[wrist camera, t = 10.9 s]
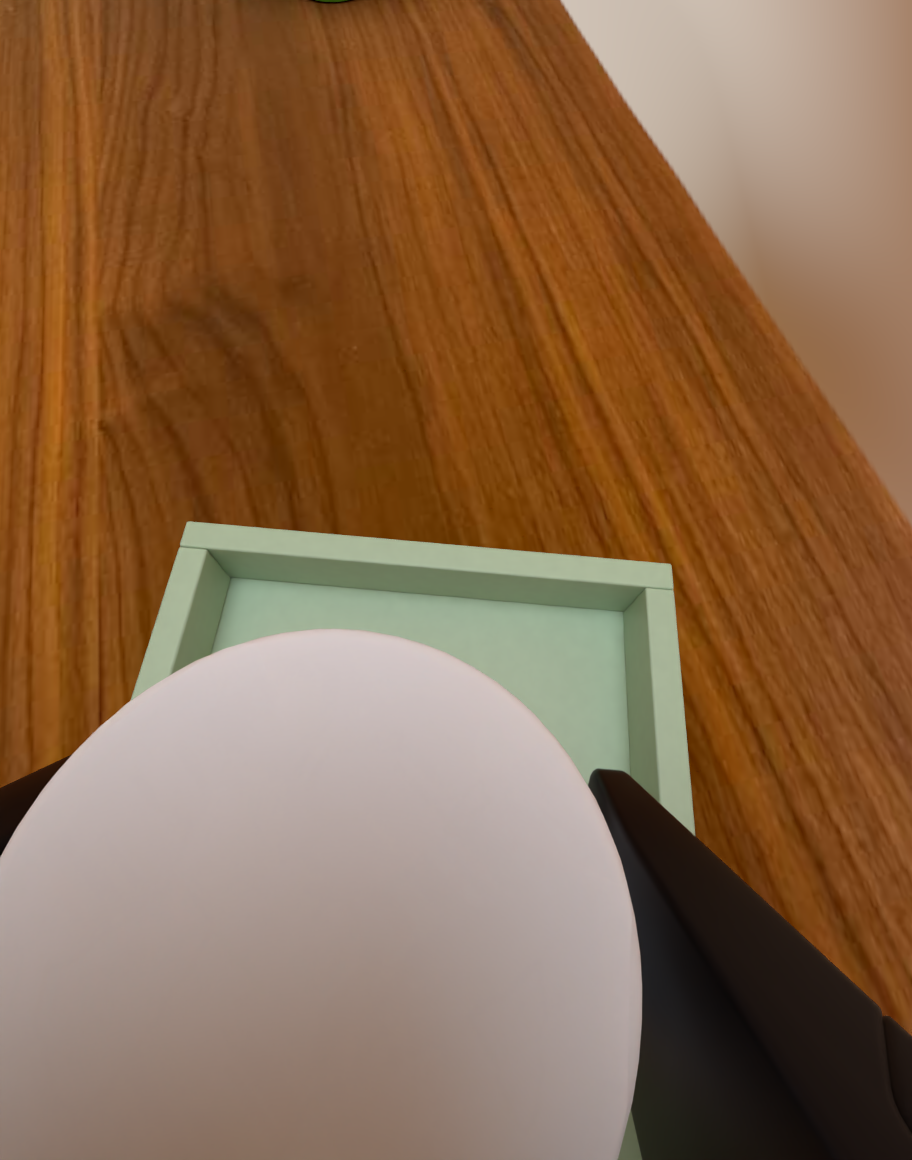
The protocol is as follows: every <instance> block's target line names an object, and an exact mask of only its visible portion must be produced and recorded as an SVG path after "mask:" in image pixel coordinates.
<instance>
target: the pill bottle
mask: <svg viewBox="0 0 912 1160" xmlns="http://www.w3.org/2000/svg"><path fill="white" fill-rule="evenodd" d="M641 1027H642V974H641V957H640V948H639V941H638V935H637V928H636V921H635V915H634V911H633V906H632V902H631V898H630V894H629V890H628V885H627V881H626V877H625V873H624V870H623V866H622V862H621V859H620V856H619V854H618V851H617V848H616V846H615V843H614V841H613V838H612V836H611V833H610V831H609V828H608V826H607V823H606V821H605V819H604V816H603V814H602V812H601V810H600V807H599V805H598V803H597V801H596V799H595V797H594V795H593V794H592V792H591V790H590V789H589V787H588V785H587V784H586V782H585V781H584V779H583V777H582V776H581V774H580V772H579V771H578V769H577V767H576V766H575V764H574V762H573V761H572V759H571V758H570V756H569V755H568V754H567V752H566V751H565V750H564V748H563V747H562V746H561V744H560V743H559V742H558V741H557V739H556V738H555V737H554V735H553V734H552V733H551V732H550V731H549V730H548V729H547V728H546V727H545V726H544V725H543V724H542V722H541V721H540V720H539V719H538V718H537V717H536V715H535V714H534V713H533V712H532V711H530V710H529V709H528V708H527V707H526V706H525V705H524V704H523V703H522V702H521V701H520V700H519V699H517V698H516V697H515V696H514V695H512V694H511V693H510V692H509V691H507V690H506V689H505V688H504V687H502V686H501V685H500V684H499V683H497V682H496V681H494V680H493V679H491V678H490V677H488V676H486V675H485V674H483V673H482V672H480V671H479V670H477V669H475V668H474V667H472V666H470V665H469V664H467V663H465V662H463V661H461V660H459V659H457V658H455V657H453V656H451V655H449V654H448V653H446V652H443V651H440V650H438V649H435V648H433V647H430V646H427V645H425V644H422V643H418V642H415V641H411V640H408V639H404V638H401V637H397V636H392V635H386V634H381V633H376V632H370V631H365V630H349V629H313V630H303V631H294V632H285V633H280V634H275V635H270V636H266V637H261V638H258V639H254V640H251V641H248V642H245V643H242V644H238V645H235V646H232V647H228V648H225V649H222V650H220V651H218V652H215V653H213V654H211V655H208V656H206V657H203V658H201V659H199V660H196V661H194V662H192V663H191V664H189V665H187V666H185V667H183V668H182V669H180V670H178V671H176V672H175V673H173V674H171V675H170V676H168V677H166V678H165V679H163V680H161V681H160V682H158V683H156V684H155V685H153V686H152V687H150V688H148V689H147V690H145V691H144V692H143V693H141V694H140V695H138V696H137V697H136V698H134V699H133V700H131V701H130V702H128V703H127V704H126V705H124V706H123V707H122V708H121V709H120V710H119V711H118V712H117V713H116V714H115V715H113V716H112V717H111V718H110V719H109V720H107V721H106V722H105V723H104V724H102V725H101V726H100V727H99V728H98V729H97V730H96V731H95V732H94V733H93V734H92V735H91V736H90V737H89V738H88V739H87V740H86V741H85V742H84V743H83V744H82V745H81V746H80V747H79V748H78V749H77V750H76V751H75V752H74V753H73V754H72V756H71V757H70V758H69V759H68V760H67V761H66V762H65V763H64V764H63V766H62V767H61V768H60V769H59V770H58V771H57V772H56V774H55V775H54V776H53V777H52V779H51V780H50V781H49V782H48V783H47V785H46V786H45V787H44V788H43V790H42V791H41V793H40V794H39V796H38V797H37V798H36V800H35V801H34V803H33V804H32V806H31V807H30V809H29V810H28V812H27V813H26V815H25V816H24V818H23V819H22V821H21V822H20V824H19V825H18V826H17V828H16V830H15V832H14V833H13V835H12V837H11V839H10V840H9V842H8V844H7V846H6V848H5V849H4V851H3V853H2V855H1V857H0V1160H617V1159H618V1157H619V1153H620V1149H621V1145H622V1141H623V1137H624V1133H625V1129H626V1125H627V1121H628V1117H629V1113H630V1109H631V1105H632V1101H633V1095H634V1089H635V1083H636V1076H637V1070H638V1064H639V1053H640V1040H641Z"/></svg>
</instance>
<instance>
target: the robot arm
mask: <svg viewBox="0 0 912 1160" xmlns="http://www.w3.org/2000/svg"><path fill="white" fill-rule="evenodd" d="M71 756H72V755H70V756H68V757H66V758H64V759H61V760H59V761H57V762H55V763H53V764H51V765H49V766H46V767H44V768H42V769H40V770H38V771H36V772H34V773H31V774H29V775H27V776H25V777H23V778H21V779H19V780H16V781H14V782H12V783H10V784H8V785H6V786H4V787H1V788H0V857H1V855H2V853H3V851H4V849H5V848H6V846H7V844H8V842H9V840H10V839H11V837H12V835H13V833H14V832H15V830H16V828H17V826H18V825H19V824H20V822H21V821H22V819H23V818H24V816H25V815H26V813H27V812H28V810H29V809H30V807H31V806H32V804H33V803H34V801H35V800H36V798H37V797H38V796H39V794H40V793H41V791H42V790H43V788H44V787H45V786H46V785H47V783H48V782H49V781H50V780H51V779H52V777H53V776H54V775H55V774H56V772H57V771H58V770H59V769H60V768H61V767H62V766H63V764H64V763H65V762H66V761H67V760H68V759H69V758H70V757H71ZM588 787H589V789H590V790H591V792H592V794H593V795H594V797H595V799H596V801H597V803H598V805H599V807H600V810H601V812H602V814H603V816H604V819H605V821H606V823H607V826H608V828H609V831H610V833H611V836H612V838H613V841H614V843H615V846H616V848H617V851H618V854H619V856H620V859H621V862H622V866H623V870H624V873H625V877H626V881H627V885H628V890H629V894H630V898H631V902H632V906H633V911H634V915H635V921H636V928H637V935H638V941H639V948H640V957H641V974H642V1027H641V1040H640V1053H639V1064H638V1070H637V1076H636V1083H635V1089H634V1095H633V1101H632V1105H631V1113H632V1117H633V1122H634V1126H635V1130H636V1135H637V1139H638V1144H639V1148H640V1152H641V1157H642V1160H912V1036H911V1035H910V1034H909V1033H907V1032H906V1031H905V1030H904V1029H903V1028H902V1027H901V1026H900V1025H899V1024H898V1023H897V1022H896V1021H894V1020H893V1019H892V1018H891V1017H890V1016H883V1017H882V1011H881V1009H880V1007H879V1006H878V1005H877V1004H876V1003H875V1002H874V1001H873V1000H871V999H870V998H869V997H868V996H867V995H866V994H865V993H864V992H863V991H862V990H861V989H860V988H858V987H857V986H856V985H855V984H854V983H853V982H852V981H851V980H850V979H849V978H848V977H847V976H846V975H844V974H843V973H842V972H841V971H840V970H839V969H838V968H837V967H836V966H835V965H834V964H833V963H832V962H830V961H829V960H828V959H827V958H826V957H825V956H824V955H823V954H822V953H821V952H820V951H819V950H817V949H816V948H815V947H814V946H813V945H812V944H811V943H810V942H809V941H808V940H807V939H806V938H805V937H803V936H802V935H801V934H800V933H799V932H798V931H797V930H796V929H795V928H794V927H793V926H792V925H791V924H789V923H788V922H787V921H786V920H785V919H784V918H783V917H782V916H781V915H780V914H779V913H778V912H777V911H775V910H774V909H773V908H772V907H771V906H770V905H769V904H768V903H767V902H766V901H765V900H764V899H762V898H761V897H760V896H759V895H758V894H757V893H756V892H755V891H754V890H753V889H752V888H751V887H750V886H748V885H747V884H746V883H745V882H744V881H743V880H742V879H741V878H740V877H739V876H738V875H737V874H736V873H734V872H733V871H732V870H731V869H730V868H729V867H728V866H727V865H726V864H725V863H724V862H723V861H721V860H720V859H719V858H718V857H717V856H716V855H715V854H714V853H713V852H712V851H711V850H710V849H709V848H707V847H706V846H705V845H704V844H703V843H702V842H701V841H700V840H699V839H698V838H697V837H696V836H695V835H693V834H692V833H691V832H690V831H689V830H688V829H687V828H686V827H685V826H684V825H683V824H682V823H680V822H679V821H678V820H677V819H676V818H675V817H674V816H673V815H672V814H671V813H670V812H669V811H668V810H666V809H665V808H664V807H663V806H662V805H661V804H660V803H659V802H658V801H657V800H656V799H655V798H654V797H652V796H651V795H650V794H649V793H648V792H647V791H646V790H645V789H644V788H643V787H642V786H641V785H640V784H638V783H637V782H636V781H635V780H634V779H633V778H632V777H631V776H630V775H629V774H627V773H626V772H624V771H622V770H613V769H601V768H596V769H595V770H593V771H592V773H591V775H590V778H589V783H588Z"/></svg>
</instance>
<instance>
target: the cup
mask: <svg viewBox="0 0 912 1160" xmlns="http://www.w3.org/2000/svg"><path fill="white" fill-rule="evenodd" d="M316 1H323V2H341V1H348V0H316Z"/></svg>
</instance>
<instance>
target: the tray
mask: <svg viewBox="0 0 912 1160" xmlns="http://www.w3.org/2000/svg"><path fill="white" fill-rule="evenodd" d="M180 546H181V547H180V548H179V550H178V553H177V556H176V559H175V562H174V565H173V568H172V572H171V575H170V578H169V581H168V584H167V587H166V591H165V594H164V597H163V600H162V603H161V606H160V610H159V613H158V616H157V619H156V622H155V625H154V629H153V632H152V635H151V638H150V641H149V644H148V648H147V651H146V654H145V657H144V660H143V663H142V667H141V670H140V673H139V676H138V679H137V682H136V685H135V689H134V692H133V695H132V698H131V700H133V699H134V698H136V697H137V696H138V695H140V694H141V693H143V692H144V691H145V690H147V689H148V688H150V687H152V686H153V685H155V684H156V683H158V682H160V681H161V680H163V679H165V678H166V677H168V676H170V675H171V674H173V673H175V672H176V671H178V670H180V669H182V668H183V667H185V666H187V665H189V664H191V663H192V662H194V661H196V660H199V659H201V658H203V657H206V656H208V655H211V654H213V653H215V652H218V651H220V650H222V649H225V648H228V647H232V646H235V645H238V644H242V643H245V642H248V641H251V640H254V639H258V638H261V637H266V636H270V635H275V634H280V633H285V632H294V631H303V630H313V629H349V630H365V631H370V632H376V633H381V634H386V635H392V636H397V637H401V638H404V639H408V640H411V641H415V642H418V643H422V644H425V645H427V646H430V647H433V648H435V649H438V650H440V651H443V652H446V653H448V654H449V655H451V656H453V657H455V658H457V659H459V660H461V661H463V662H465V663H467V664H469V665H470V666H472V667H474V668H475V669H477V670H479V671H480V672H482V673H483V674H485V675H486V676H488V677H490V678H491V679H493V680H494V681H496V682H497V683H499V684H500V685H501V686H502V687H504V688H505V689H506V690H507V691H509V692H510V693H511V694H512V695H514V696H515V697H516V698H517V699H519V700H520V701H521V702H522V703H523V704H524V705H525V706H526V707H527V708H528V709H529V710H530V711H532V712H533V713H534V714H535V715H536V717H537V718H538V719H539V720H540V721H541V722H542V724H543V725H544V726H545V727H546V728H547V729H548V730H549V731H550V732H551V733H552V734H553V735H554V737H555V738H556V739H557V741H558V742H559V743H560V744H561V746H562V747H563V748H564V750H565V751H566V752H567V754H568V755H569V756H570V758H571V759H572V761H573V762H574V764H575V766H576V767H577V769H578V771H579V772H580V774H581V776H582V777H583V779H584V781H585V782H586V784H587V785H588V783H589V778H590V775H591V773H592V771H593V770H595V769H596V768H601V769H613V770H622V771H624V772H626V773H627V774H629V775H630V776H631V777H632V778H633V779H634V780H635V781H636V782H637V783H638V784H640V785H641V786H642V787H643V788H644V789H645V790H646V791H647V792H648V793H649V794H650V795H651V796H652V797H654V798H655V799H656V800H657V801H658V802H659V803H660V804H661V805H662V806H663V807H664V808H665V809H666V810H668V811H669V812H670V813H671V814H672V815H673V816H674V817H675V818H676V819H677V820H678V821H679V822H680V823H682V824H683V825H684V826H685V827H686V828H687V829H688V830H689V831H690V832H691V833H692V834H693V835H695V826H694V814H693V803H692V792H691V780H690V769H689V758H688V747H687V735H686V724H685V713H684V701H683V690H682V679H681V667H680V656H679V645H678V634H677V622H676V611H675V600H674V591H673V578H672V566H671V564H664V563H653V562H642V561H631V560H619V559H608V558H597V557H585V556H574V555H563V554H551V553H540V552H529V551H517V550H506V549H495V548H484V547H472V546H461V545H450V544H438V543H427V542H416V541H404V540H393V539H382V538H370V537H359V536H348V535H336V534H325V533H314V532H303V531H291V530H280V529H269V528H257V527H246V526H235V525H223V524H212V523H201V522H187V524H186V527H185V530H184V533H183V536H182V539H181V543H180ZM617 1160H642V1157H641V1152H640V1148H639V1144H638V1139H637V1135H636V1130H635V1126H634V1122H633V1117H632V1113H631V1109H630V1113H629V1117H628V1121H627V1125H626V1129H625V1133H624V1137H623V1141H622V1145H621V1149H620V1153H619V1157H618V1159H617Z"/></svg>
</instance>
